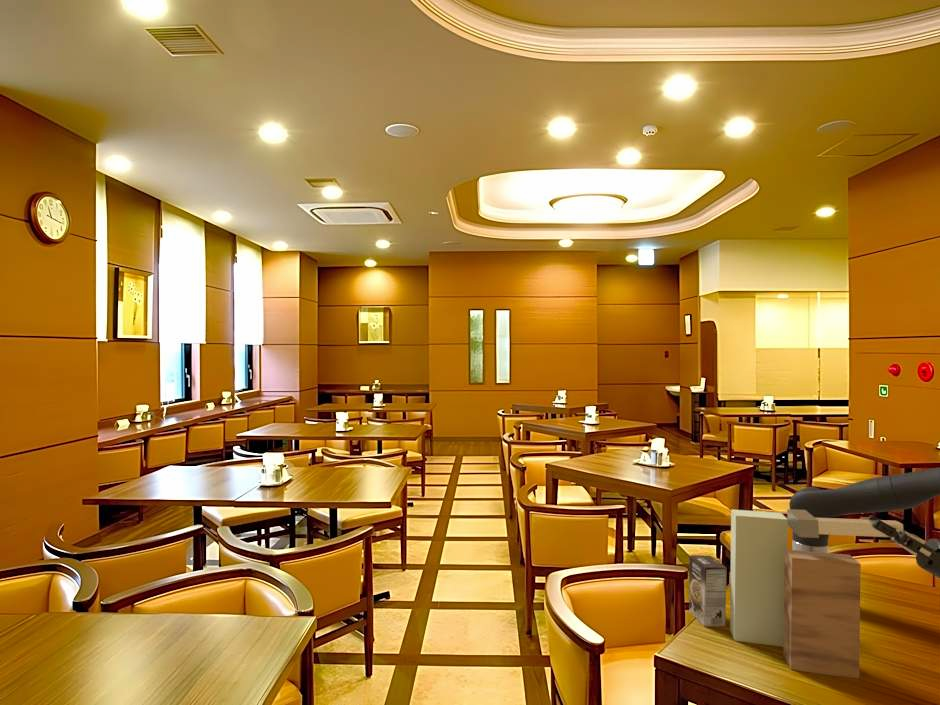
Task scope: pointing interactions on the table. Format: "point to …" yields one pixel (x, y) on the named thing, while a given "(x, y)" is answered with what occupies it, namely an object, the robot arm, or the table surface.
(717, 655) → the table surface
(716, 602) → the coffee box
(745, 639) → the beige tall block
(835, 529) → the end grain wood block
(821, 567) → the wood grain post
